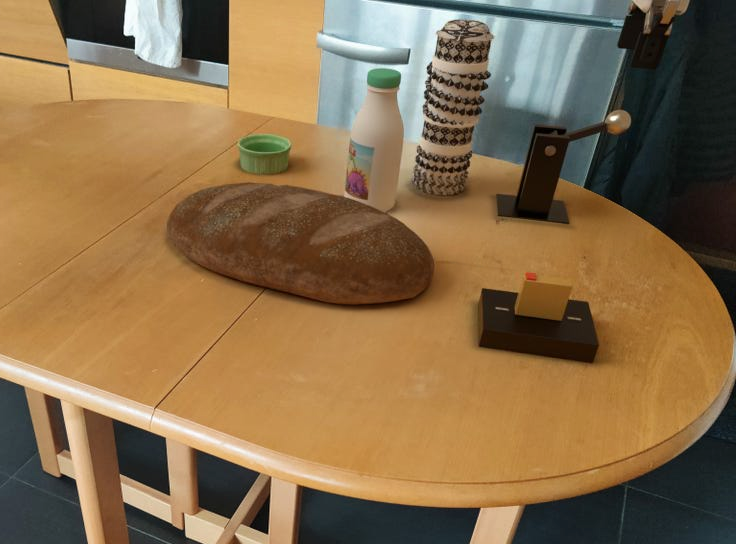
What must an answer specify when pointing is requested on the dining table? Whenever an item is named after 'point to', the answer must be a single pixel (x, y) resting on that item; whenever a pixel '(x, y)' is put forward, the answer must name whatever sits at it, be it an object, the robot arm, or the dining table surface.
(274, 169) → the ramekin
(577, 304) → the plate
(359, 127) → the milk bottle
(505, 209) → the latch bracket
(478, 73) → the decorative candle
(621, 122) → the latch lever
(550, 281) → the lock knob
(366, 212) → the bread
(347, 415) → the dining table surface
